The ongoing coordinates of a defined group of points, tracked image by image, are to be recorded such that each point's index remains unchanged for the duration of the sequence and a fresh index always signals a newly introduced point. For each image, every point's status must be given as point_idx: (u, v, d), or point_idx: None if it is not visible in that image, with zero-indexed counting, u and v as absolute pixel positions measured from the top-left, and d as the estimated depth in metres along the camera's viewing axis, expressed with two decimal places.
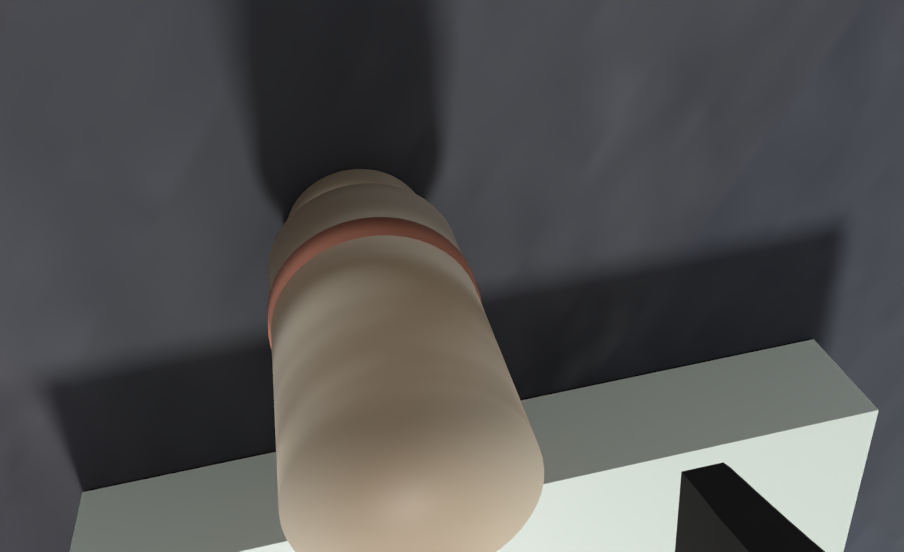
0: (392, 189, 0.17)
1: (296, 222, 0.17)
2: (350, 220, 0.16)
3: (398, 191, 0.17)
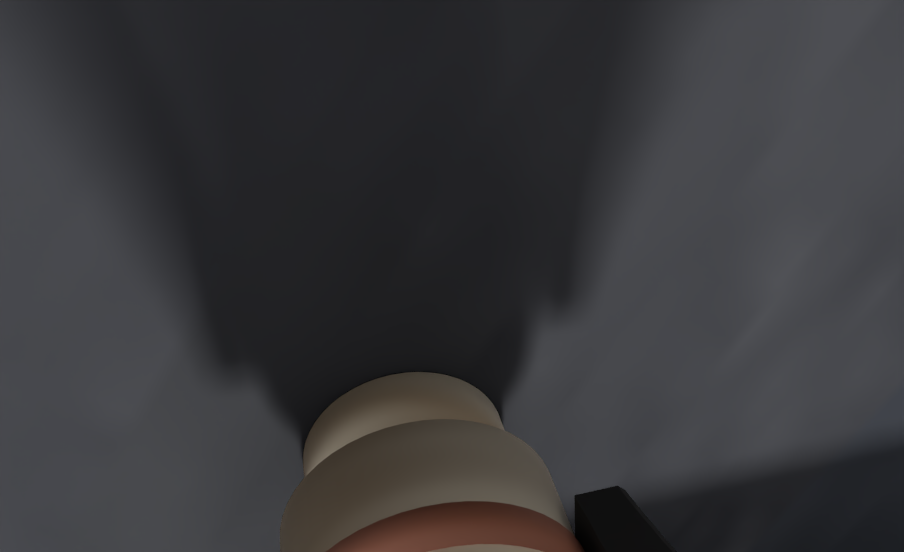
0: (467, 429, 0.11)
1: (323, 486, 0.11)
2: (410, 507, 0.10)
3: (476, 432, 0.11)
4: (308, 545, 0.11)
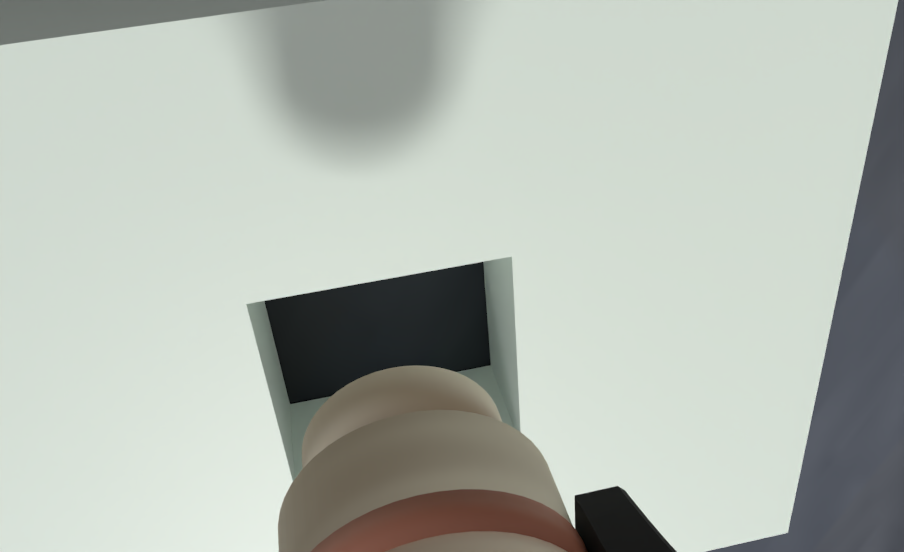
0: (461, 419, 0.11)
1: (319, 478, 0.11)
2: (404, 496, 0.10)
3: (471, 422, 0.11)
4: (304, 537, 0.11)
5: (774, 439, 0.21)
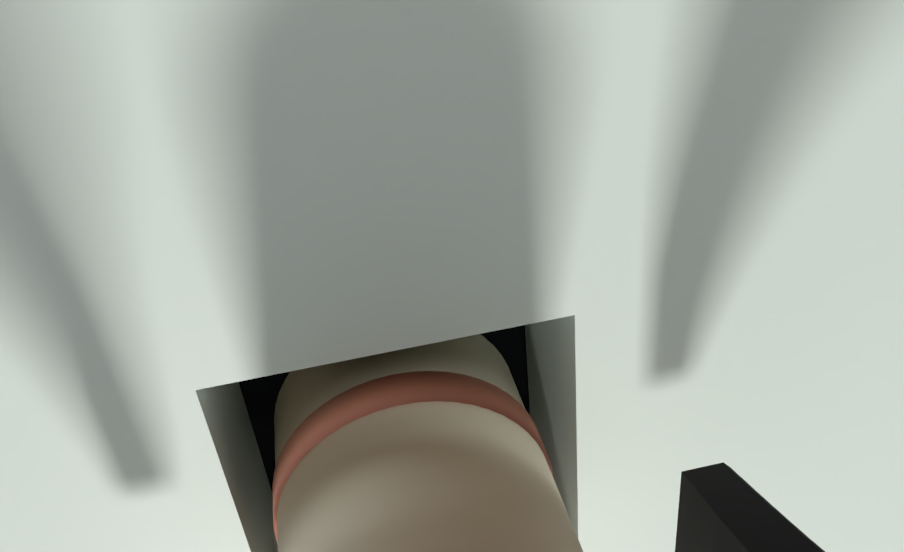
0: None
1: (308, 369, 0.13)
2: (380, 376, 0.12)
3: None
4: (295, 415, 0.12)
5: None
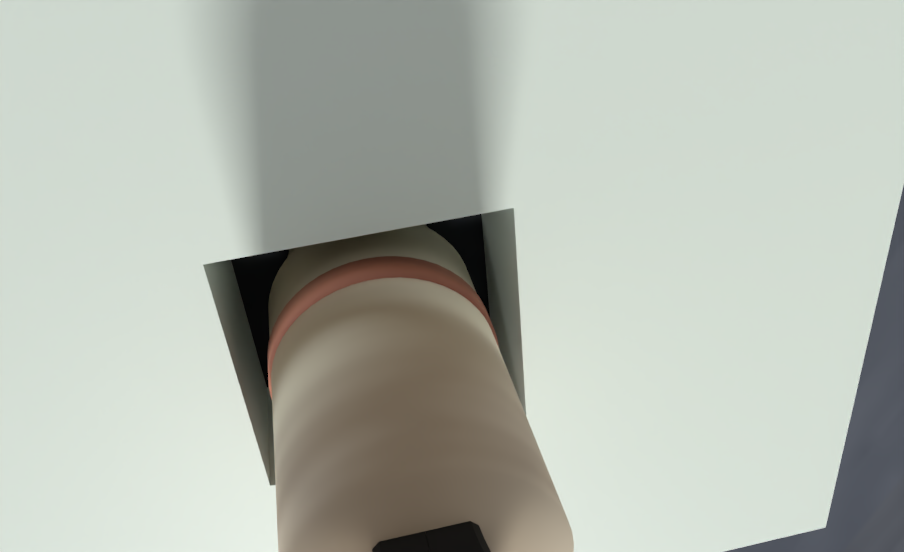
0: None
1: (297, 261, 0.16)
2: (355, 260, 0.15)
3: None
4: (286, 296, 0.15)
5: (813, 422, 0.19)
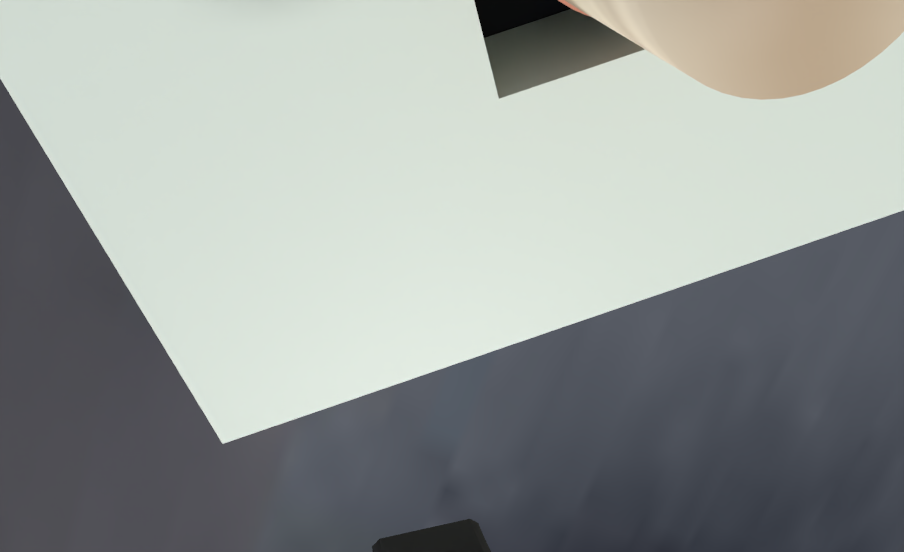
0: None
1: None
2: None
3: None
4: None
5: None
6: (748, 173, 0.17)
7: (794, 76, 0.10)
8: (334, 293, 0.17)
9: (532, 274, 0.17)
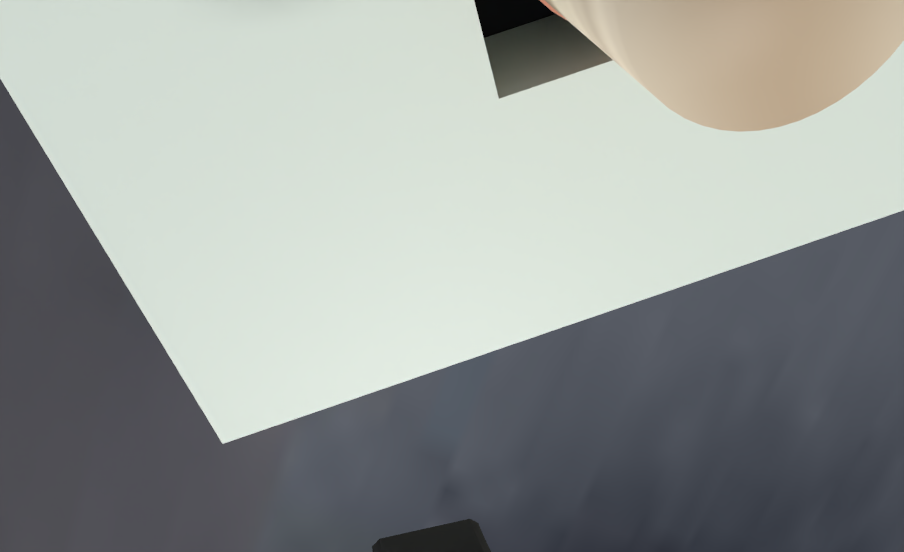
0: None
1: None
2: None
3: None
4: None
5: None
6: (748, 173, 0.17)
7: (772, 111, 0.10)
8: (334, 293, 0.17)
9: (532, 274, 0.17)
